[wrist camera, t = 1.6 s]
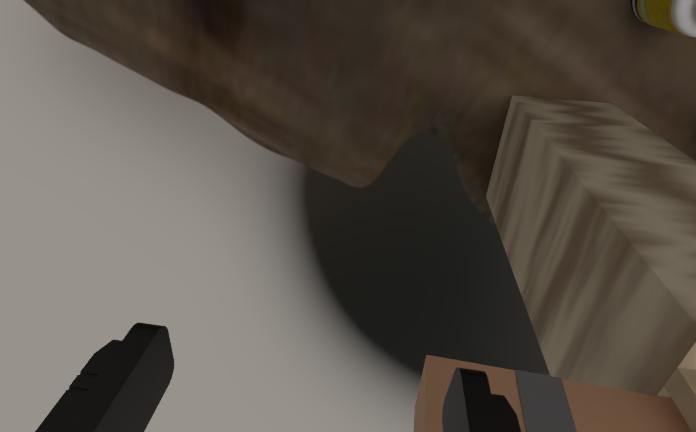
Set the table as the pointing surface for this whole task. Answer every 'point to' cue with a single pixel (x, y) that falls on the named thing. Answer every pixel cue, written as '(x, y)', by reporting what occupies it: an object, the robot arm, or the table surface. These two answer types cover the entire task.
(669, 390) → the socket tower
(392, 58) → the table surface
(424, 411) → the bar
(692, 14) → the supplement bottle
